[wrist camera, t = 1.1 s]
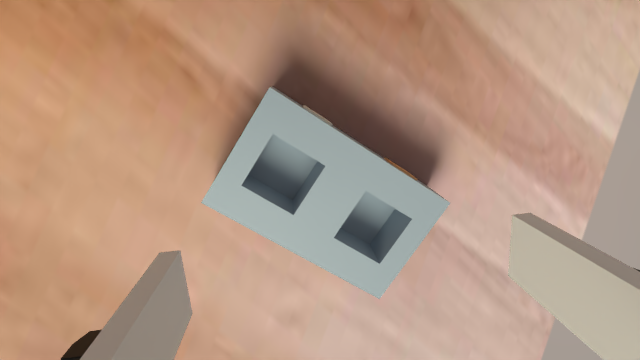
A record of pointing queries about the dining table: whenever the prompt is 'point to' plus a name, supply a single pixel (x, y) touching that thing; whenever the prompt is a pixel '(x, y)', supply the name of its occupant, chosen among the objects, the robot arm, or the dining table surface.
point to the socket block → (324, 195)
